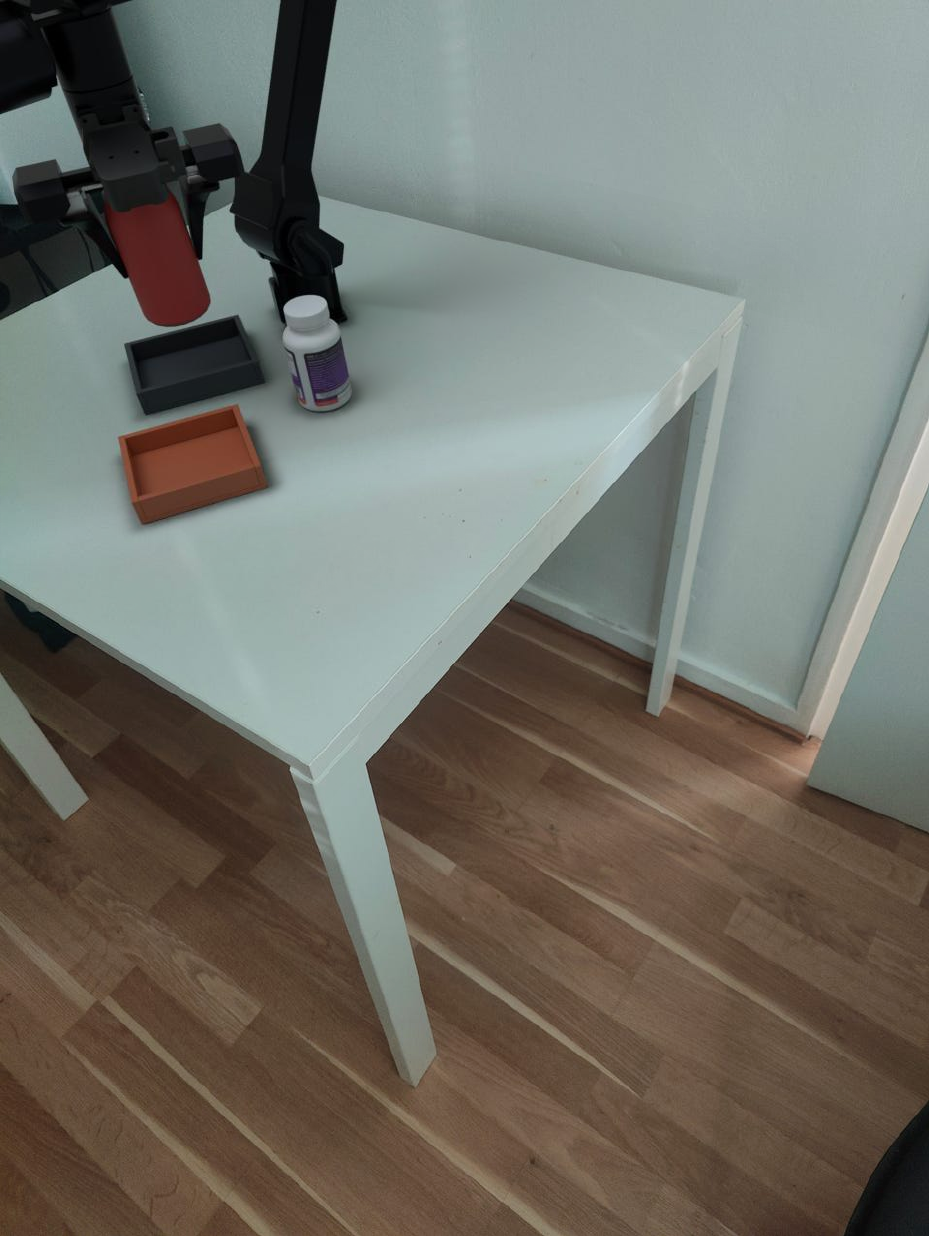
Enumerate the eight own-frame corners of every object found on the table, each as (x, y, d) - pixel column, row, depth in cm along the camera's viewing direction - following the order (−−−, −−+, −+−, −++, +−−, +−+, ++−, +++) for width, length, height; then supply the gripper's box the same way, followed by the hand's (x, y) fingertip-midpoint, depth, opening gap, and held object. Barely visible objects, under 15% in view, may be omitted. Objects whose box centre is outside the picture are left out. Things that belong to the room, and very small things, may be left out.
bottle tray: (244, 425, 83) (237, 403, 81) (268, 487, 77) (261, 464, 75) (127, 458, 81) (117, 436, 79) (141, 524, 74) (131, 502, 73)
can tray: (244, 335, 94) (238, 314, 92) (265, 382, 88) (258, 360, 86) (132, 364, 92) (123, 343, 90) (145, 415, 85) (136, 393, 84)
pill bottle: (361, 385, 86) (344, 293, 79) (338, 416, 83) (319, 324, 76) (312, 378, 88) (291, 287, 80) (288, 409, 84) (264, 317, 77)
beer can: (150, 298, 87) (102, 175, 77) (215, 289, 87) (175, 165, 77) (141, 334, 82) (88, 208, 73) (209, 325, 82) (165, 199, 73)
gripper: (-22, 138, 62) (69, 334, 74) (232, 85, 66) (280, 279, 78) (-24, 93, 69) (59, 278, 81) (205, 46, 73) (252, 230, 85)
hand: (163, 267), depth 81 cm, fingers closed on beer can, 7 cm apart
